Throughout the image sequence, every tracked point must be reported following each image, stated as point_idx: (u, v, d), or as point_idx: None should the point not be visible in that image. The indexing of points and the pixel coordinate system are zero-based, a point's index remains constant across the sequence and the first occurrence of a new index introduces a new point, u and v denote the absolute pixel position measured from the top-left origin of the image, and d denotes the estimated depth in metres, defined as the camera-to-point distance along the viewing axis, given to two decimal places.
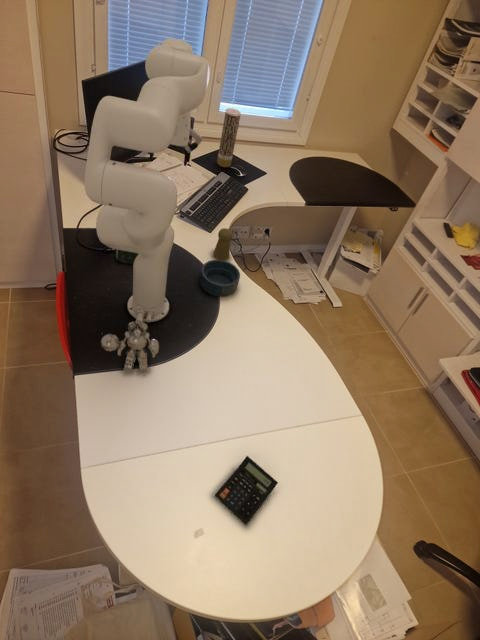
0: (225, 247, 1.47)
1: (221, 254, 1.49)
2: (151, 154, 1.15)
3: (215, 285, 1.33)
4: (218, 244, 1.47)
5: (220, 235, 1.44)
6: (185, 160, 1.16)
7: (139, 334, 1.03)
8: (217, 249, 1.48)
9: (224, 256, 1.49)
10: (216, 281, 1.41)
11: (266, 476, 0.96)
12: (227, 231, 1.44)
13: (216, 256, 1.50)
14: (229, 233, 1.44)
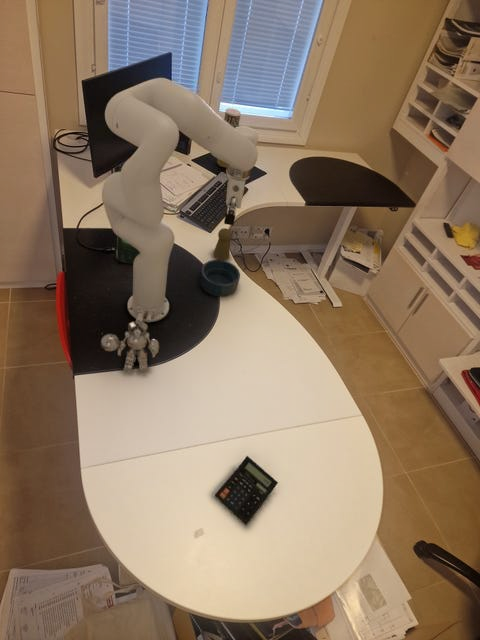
0: (225, 247, 1.47)
1: (221, 254, 1.49)
2: None
3: (215, 285, 1.33)
4: (218, 244, 1.47)
5: (220, 235, 1.44)
6: None
7: (139, 334, 1.03)
8: (217, 249, 1.48)
9: (224, 256, 1.49)
10: (216, 281, 1.41)
11: (266, 476, 0.96)
12: (227, 231, 1.44)
13: (216, 256, 1.50)
14: (229, 233, 1.44)
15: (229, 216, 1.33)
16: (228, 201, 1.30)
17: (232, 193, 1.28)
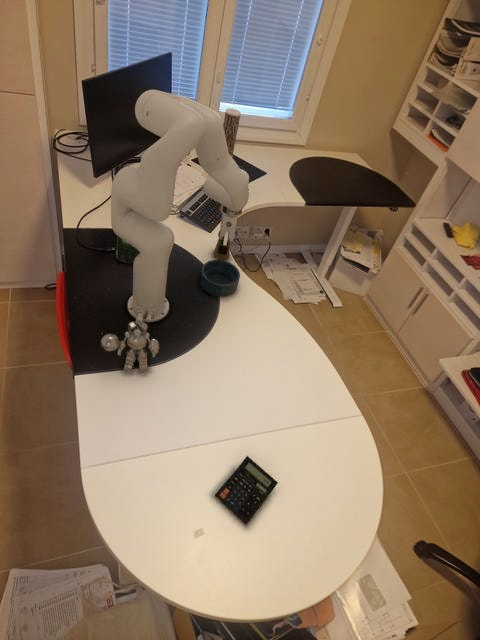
0: None
1: (221, 254, 1.49)
2: None
3: (215, 285, 1.33)
4: (218, 244, 1.47)
5: None
6: None
7: (139, 334, 1.03)
8: (217, 249, 1.48)
9: (224, 256, 1.49)
10: (216, 281, 1.41)
11: (266, 476, 0.96)
12: None
13: (216, 256, 1.50)
14: None
15: (222, 247, 1.45)
16: None
17: (225, 228, 1.38)
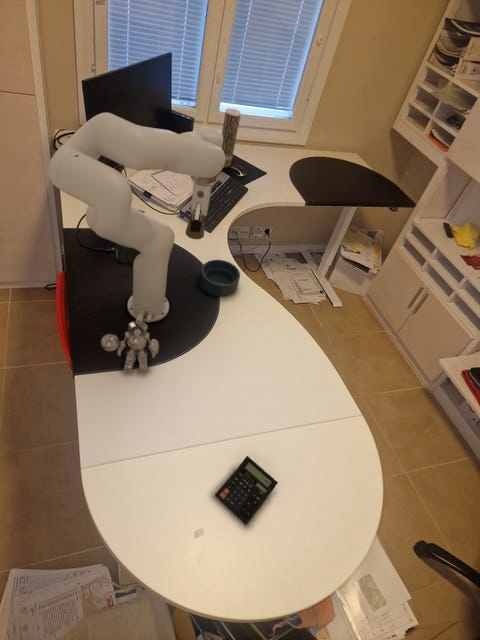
0: None
1: None
2: None
3: (215, 285, 1.33)
4: (190, 220, 1.28)
5: None
6: None
7: (139, 334, 1.03)
8: (189, 226, 1.29)
9: (198, 234, 1.30)
10: (216, 281, 1.41)
11: (266, 476, 0.96)
12: None
13: (188, 234, 1.30)
14: None
15: (195, 223, 1.26)
16: (192, 211, 1.22)
17: (197, 199, 1.18)
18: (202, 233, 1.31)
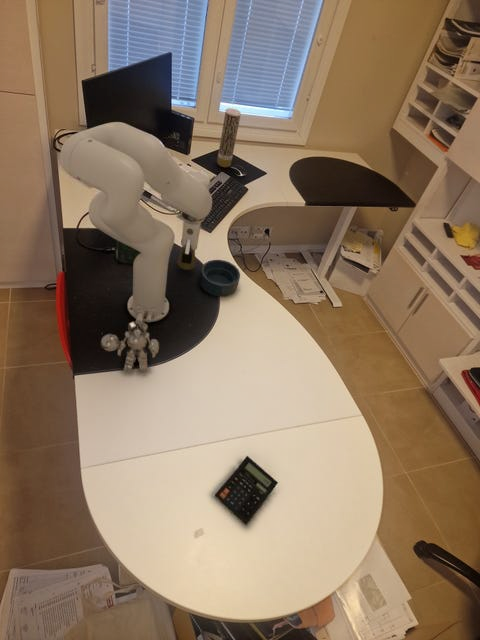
0: None
1: None
2: None
3: (215, 285, 1.33)
4: (182, 252, 1.35)
5: None
6: None
7: (139, 334, 1.03)
8: (181, 257, 1.37)
9: (189, 264, 1.38)
10: (216, 281, 1.41)
11: (266, 476, 0.96)
12: None
13: (180, 264, 1.38)
14: None
15: (186, 255, 1.34)
16: (183, 246, 1.30)
17: (186, 236, 1.26)
18: (193, 263, 1.39)
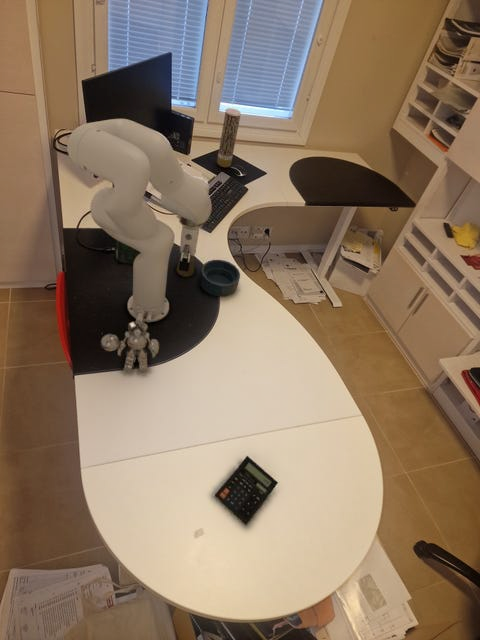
0: None
1: None
2: None
3: (215, 285, 1.33)
4: None
5: None
6: None
7: (139, 334, 1.03)
8: None
9: (188, 271, 1.40)
10: (216, 281, 1.41)
11: (266, 476, 0.96)
12: None
13: (179, 271, 1.40)
14: None
15: (183, 263, 1.32)
16: (181, 249, 1.29)
17: (185, 241, 1.27)
18: (192, 270, 1.41)
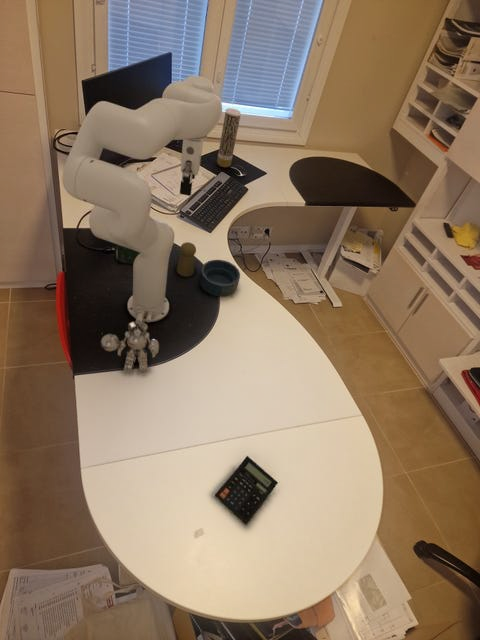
0: (188, 263, 1.38)
1: (184, 269, 1.39)
2: None
3: (215, 285, 1.33)
4: (181, 259, 1.38)
5: (182, 250, 1.34)
6: None
7: (139, 334, 1.03)
8: (180, 264, 1.39)
9: (188, 271, 1.40)
10: (216, 281, 1.41)
11: (266, 476, 0.96)
12: (189, 245, 1.35)
13: (179, 271, 1.40)
14: (192, 248, 1.34)
15: (185, 184, 1.17)
16: (182, 166, 1.14)
17: (186, 156, 1.11)
18: (192, 270, 1.41)
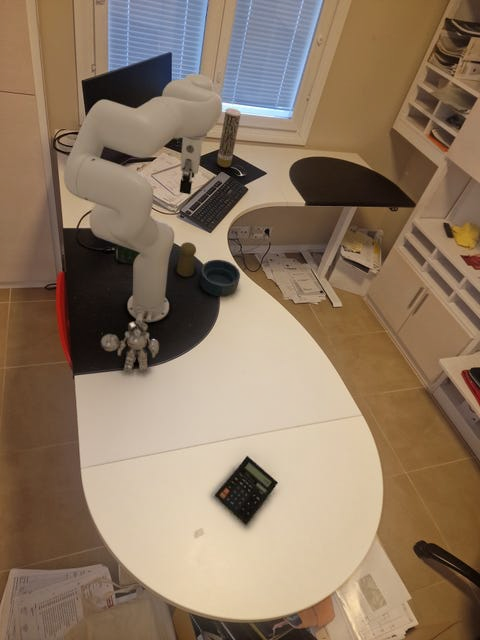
0: (188, 263, 1.38)
1: (184, 269, 1.39)
2: None
3: (215, 285, 1.33)
4: (181, 259, 1.38)
5: (182, 250, 1.34)
6: None
7: (139, 334, 1.03)
8: (180, 264, 1.39)
9: (188, 271, 1.40)
10: (216, 281, 1.41)
11: (266, 476, 0.96)
12: (189, 245, 1.35)
13: (179, 271, 1.40)
14: (192, 248, 1.34)
15: (184, 183, 1.17)
16: (182, 164, 1.14)
17: (186, 155, 1.11)
18: (192, 270, 1.41)
